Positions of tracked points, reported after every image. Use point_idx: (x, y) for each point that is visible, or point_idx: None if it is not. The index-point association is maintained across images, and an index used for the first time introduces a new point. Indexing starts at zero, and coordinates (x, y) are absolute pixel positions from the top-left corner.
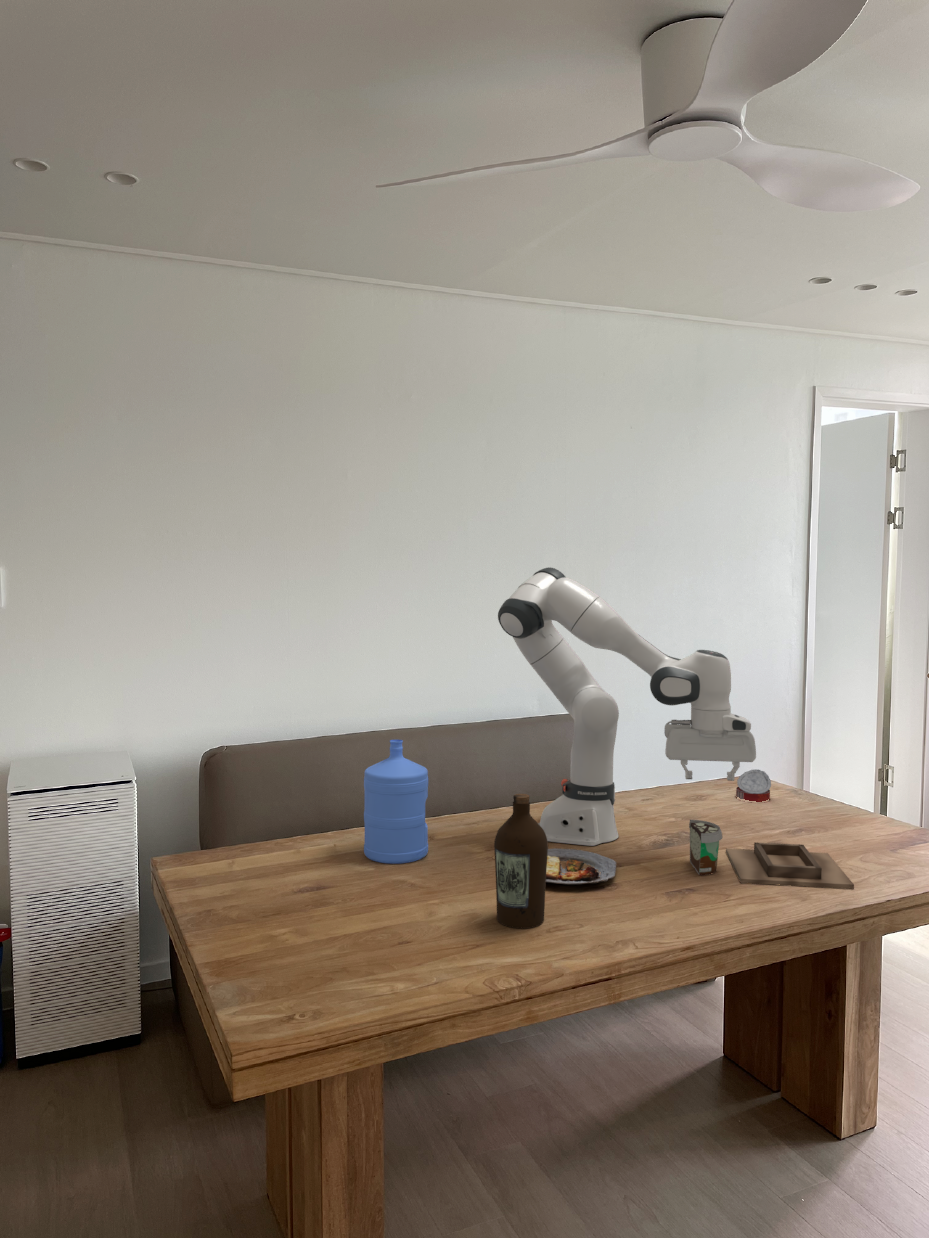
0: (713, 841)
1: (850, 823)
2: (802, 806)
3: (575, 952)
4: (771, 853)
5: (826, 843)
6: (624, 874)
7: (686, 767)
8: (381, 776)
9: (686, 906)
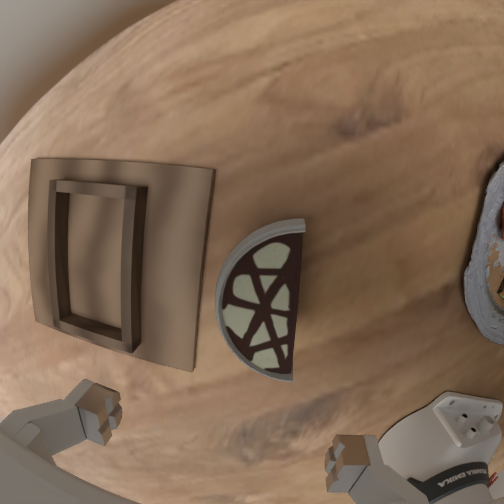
0: (261, 228)
1: None
2: None
3: None
4: (111, 327)
5: (41, 375)
6: (453, 235)
7: (370, 500)
8: None
9: (370, 45)
